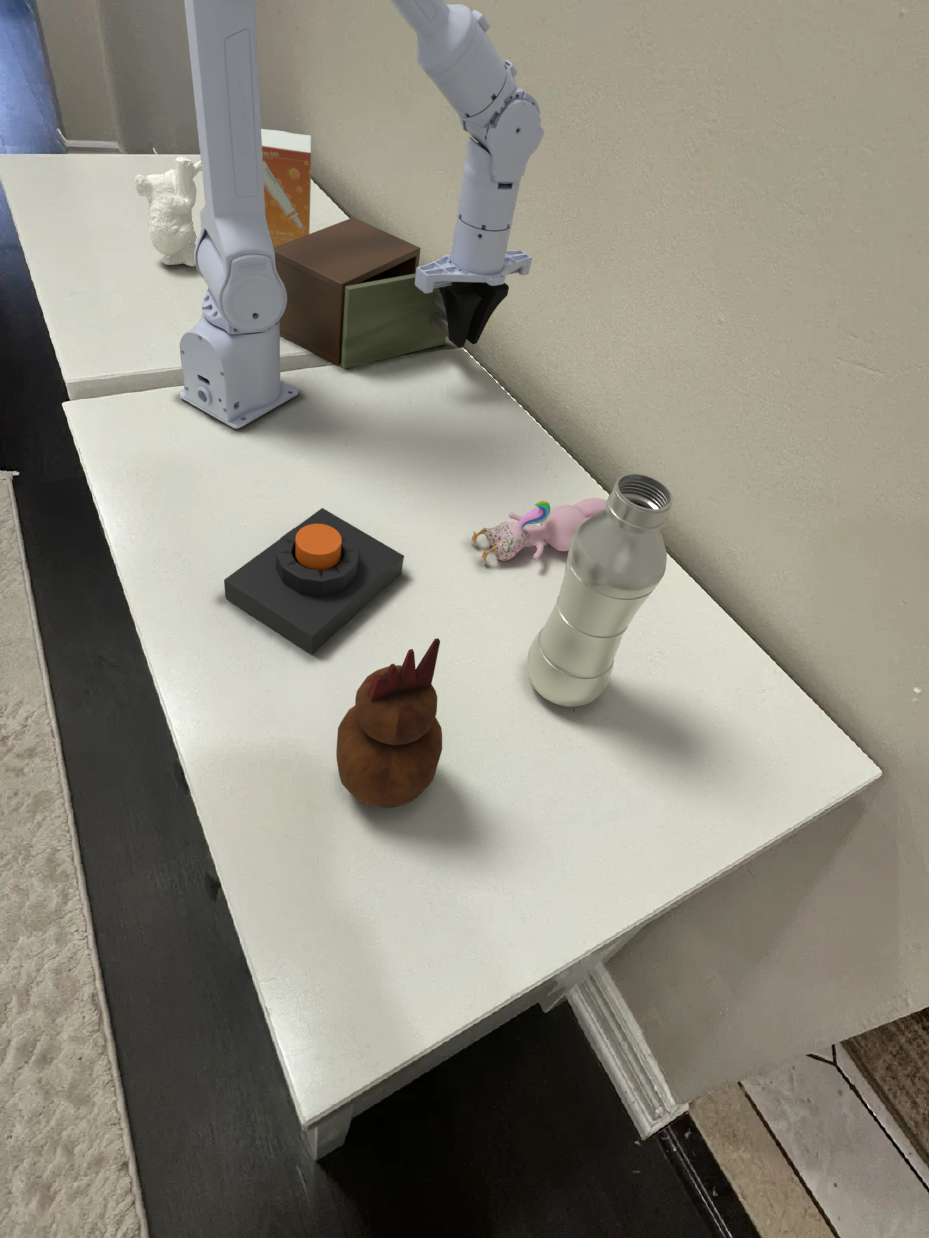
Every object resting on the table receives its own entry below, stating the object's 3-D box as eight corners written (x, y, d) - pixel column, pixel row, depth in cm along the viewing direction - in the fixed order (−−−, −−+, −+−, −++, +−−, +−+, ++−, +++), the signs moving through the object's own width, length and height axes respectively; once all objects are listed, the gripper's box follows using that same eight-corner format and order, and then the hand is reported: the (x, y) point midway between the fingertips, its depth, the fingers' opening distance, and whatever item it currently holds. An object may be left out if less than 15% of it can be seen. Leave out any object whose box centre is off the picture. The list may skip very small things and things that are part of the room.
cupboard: (411, 324, 97) (421, 247, 90) (338, 366, 88) (342, 284, 81) (349, 294, 99) (353, 217, 92) (271, 331, 90) (269, 248, 83)
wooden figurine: (430, 749, 56) (465, 612, 45) (430, 822, 52) (468, 692, 41) (337, 743, 55) (348, 602, 44) (330, 817, 51) (341, 683, 40)
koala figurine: (208, 248, 101) (200, 147, 93) (220, 272, 98) (213, 169, 89) (140, 249, 98) (125, 145, 89) (150, 274, 94) (136, 168, 85)
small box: (248, 251, 103) (244, 142, 93) (250, 230, 107) (246, 125, 97) (309, 257, 104) (311, 152, 95) (309, 237, 109) (311, 134, 99)
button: (321, 577, 60) (321, 561, 59) (285, 555, 61) (285, 539, 60) (349, 553, 63) (350, 537, 61) (315, 533, 64) (315, 517, 62)
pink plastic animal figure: (488, 588, 70) (634, 547, 73) (491, 542, 65) (646, 501, 69) (464, 542, 73) (603, 504, 77) (465, 495, 69) (613, 458, 72)
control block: (311, 654, 60) (312, 621, 57) (225, 598, 62) (222, 563, 59) (401, 573, 67) (406, 540, 64) (321, 526, 70) (322, 491, 67)
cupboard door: (471, 365, 92) (485, 290, 86) (370, 392, 85) (377, 313, 78) (441, 341, 95) (452, 266, 88) (340, 365, 88) (344, 286, 81)
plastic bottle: (549, 639, 65) (624, 445, 50) (615, 686, 63) (714, 497, 48) (504, 681, 61) (571, 484, 47) (572, 733, 59) (665, 543, 44)
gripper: (451, 244, 73) (432, 371, 83) (560, 228, 81) (531, 346, 91) (409, 214, 76) (396, 339, 86) (518, 200, 84) (494, 318, 94)
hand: (462, 341), depth 89 cm, fingers closed on cupboard door
